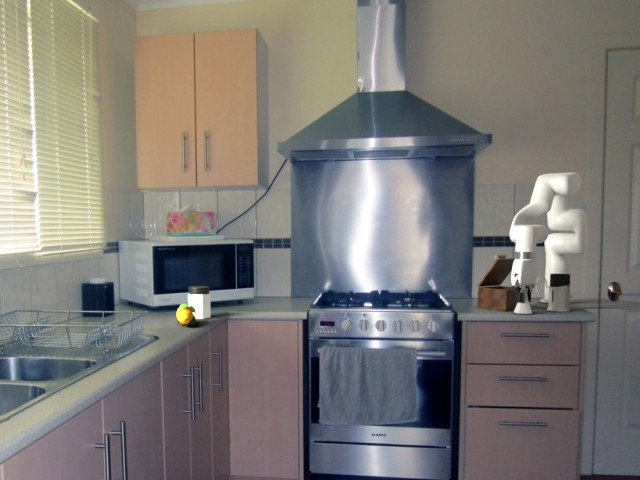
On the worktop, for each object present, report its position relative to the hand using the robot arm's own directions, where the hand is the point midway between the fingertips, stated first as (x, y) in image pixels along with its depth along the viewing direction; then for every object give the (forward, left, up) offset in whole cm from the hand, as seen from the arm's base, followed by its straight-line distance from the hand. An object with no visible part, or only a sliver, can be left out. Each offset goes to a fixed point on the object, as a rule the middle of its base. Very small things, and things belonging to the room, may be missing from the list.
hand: (523, 301), depth 263 cm
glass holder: (-18, 0, -5) cm, 19 cm away
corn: (+130, -41, -5) cm, 136 cm away
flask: (0, 0, -5) cm, 5 cm away
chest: (-6, -15, -5) cm, 17 cm away
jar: (+117, -57, -5) cm, 130 cm away
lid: (-6, -17, +10) cm, 21 cm away
